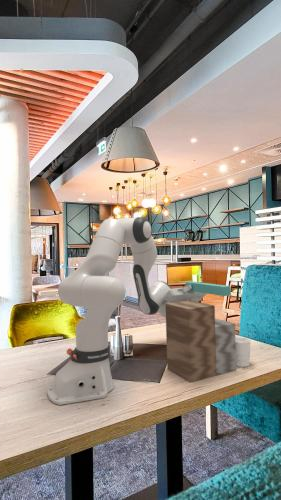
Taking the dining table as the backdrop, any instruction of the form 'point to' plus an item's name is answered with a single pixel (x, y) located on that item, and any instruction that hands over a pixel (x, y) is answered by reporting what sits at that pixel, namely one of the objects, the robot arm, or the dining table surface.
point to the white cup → (242, 351)
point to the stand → (198, 341)
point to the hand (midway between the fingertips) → (196, 285)
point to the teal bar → (210, 288)
